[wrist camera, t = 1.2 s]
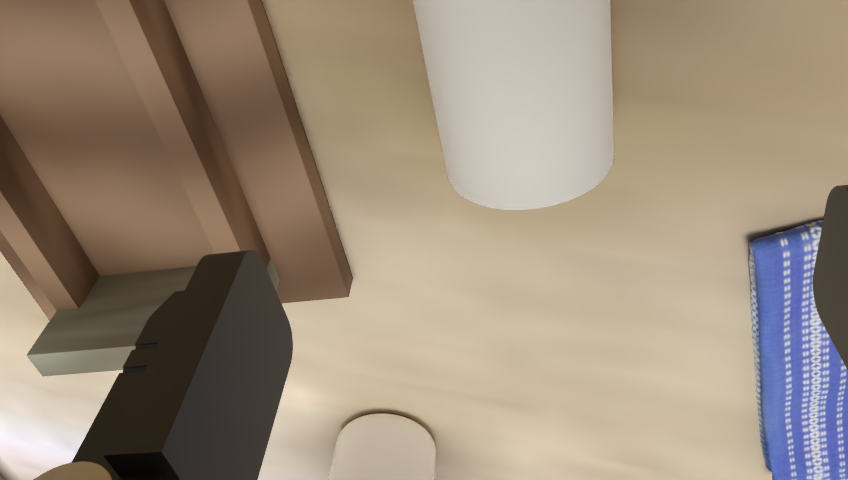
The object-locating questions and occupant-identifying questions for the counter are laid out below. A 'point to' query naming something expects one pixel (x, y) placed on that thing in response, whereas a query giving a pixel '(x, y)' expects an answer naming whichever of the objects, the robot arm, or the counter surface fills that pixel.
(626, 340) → the counter surface
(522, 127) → the roll
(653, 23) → the counter surface
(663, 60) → the counter surface
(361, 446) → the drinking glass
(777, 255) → the dish towel
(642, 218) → the counter surface
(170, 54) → the cradle
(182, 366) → the robot arm
